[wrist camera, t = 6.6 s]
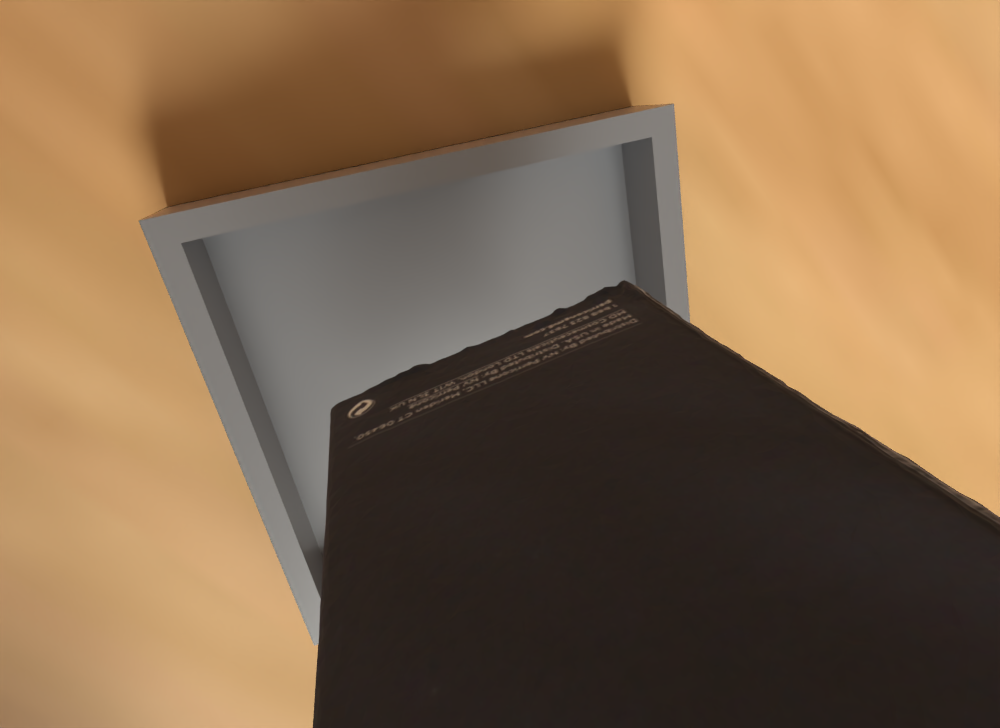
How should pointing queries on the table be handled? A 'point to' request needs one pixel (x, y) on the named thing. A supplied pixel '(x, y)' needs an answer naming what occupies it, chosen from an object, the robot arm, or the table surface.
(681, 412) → the small box
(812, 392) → the table surface
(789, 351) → the table surface
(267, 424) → the tray
